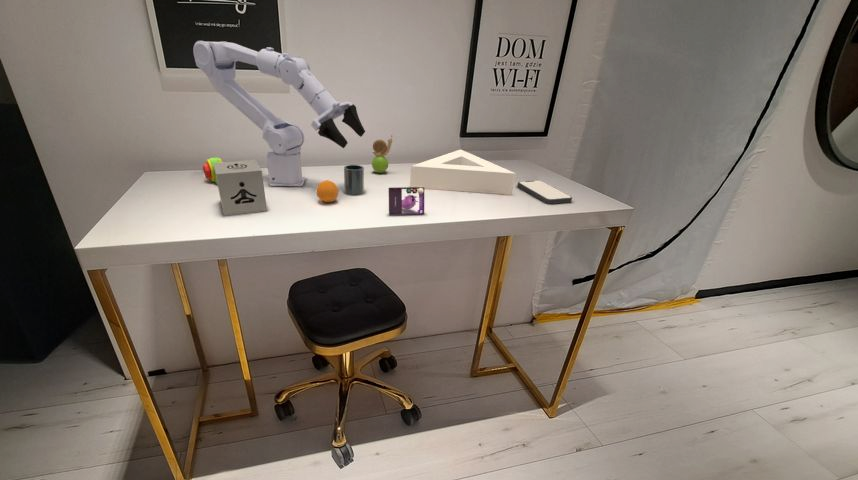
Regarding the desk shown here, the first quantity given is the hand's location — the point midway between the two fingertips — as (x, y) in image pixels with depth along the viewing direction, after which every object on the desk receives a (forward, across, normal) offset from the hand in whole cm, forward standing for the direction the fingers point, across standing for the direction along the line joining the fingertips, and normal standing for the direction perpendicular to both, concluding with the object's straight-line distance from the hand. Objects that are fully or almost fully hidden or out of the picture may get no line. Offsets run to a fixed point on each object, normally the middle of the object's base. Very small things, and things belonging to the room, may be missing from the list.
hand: (354, 139), depth 103 cm
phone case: (+47, +31, -13) cm, 58 cm away
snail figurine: (+9, +18, +19) cm, 28 cm away
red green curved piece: (-23, -19, +36) cm, 47 cm away
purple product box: (+23, -6, -3) cm, 24 cm away
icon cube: (-6, -29, +17) cm, 34 cm away
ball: (+7, -13, +10) cm, 18 cm away
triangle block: (+26, +22, +4) cm, 34 cm away
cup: (+9, -2, +11) cm, 15 cm away
